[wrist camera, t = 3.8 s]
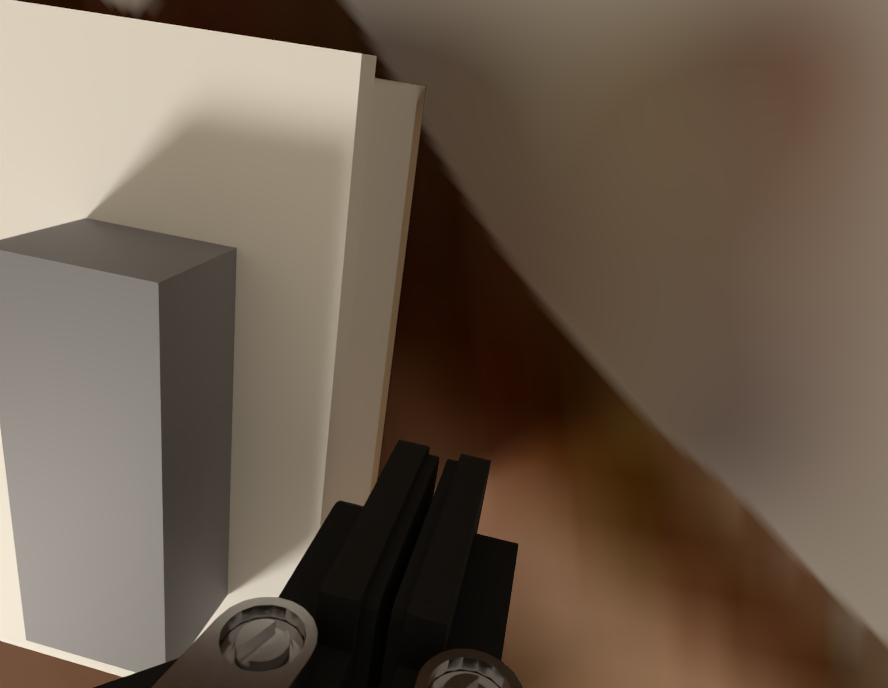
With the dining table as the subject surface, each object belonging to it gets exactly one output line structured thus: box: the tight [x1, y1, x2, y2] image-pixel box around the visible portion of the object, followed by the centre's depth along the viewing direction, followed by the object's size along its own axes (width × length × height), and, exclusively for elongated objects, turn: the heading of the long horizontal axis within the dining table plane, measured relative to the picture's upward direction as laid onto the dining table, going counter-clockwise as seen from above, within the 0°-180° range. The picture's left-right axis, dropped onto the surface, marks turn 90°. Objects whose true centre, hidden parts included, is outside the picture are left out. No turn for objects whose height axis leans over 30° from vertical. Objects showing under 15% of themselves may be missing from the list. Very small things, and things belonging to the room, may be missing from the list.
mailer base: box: [334, 78, 426, 506], centre depth 18 cm, size 20×14×6 cm
